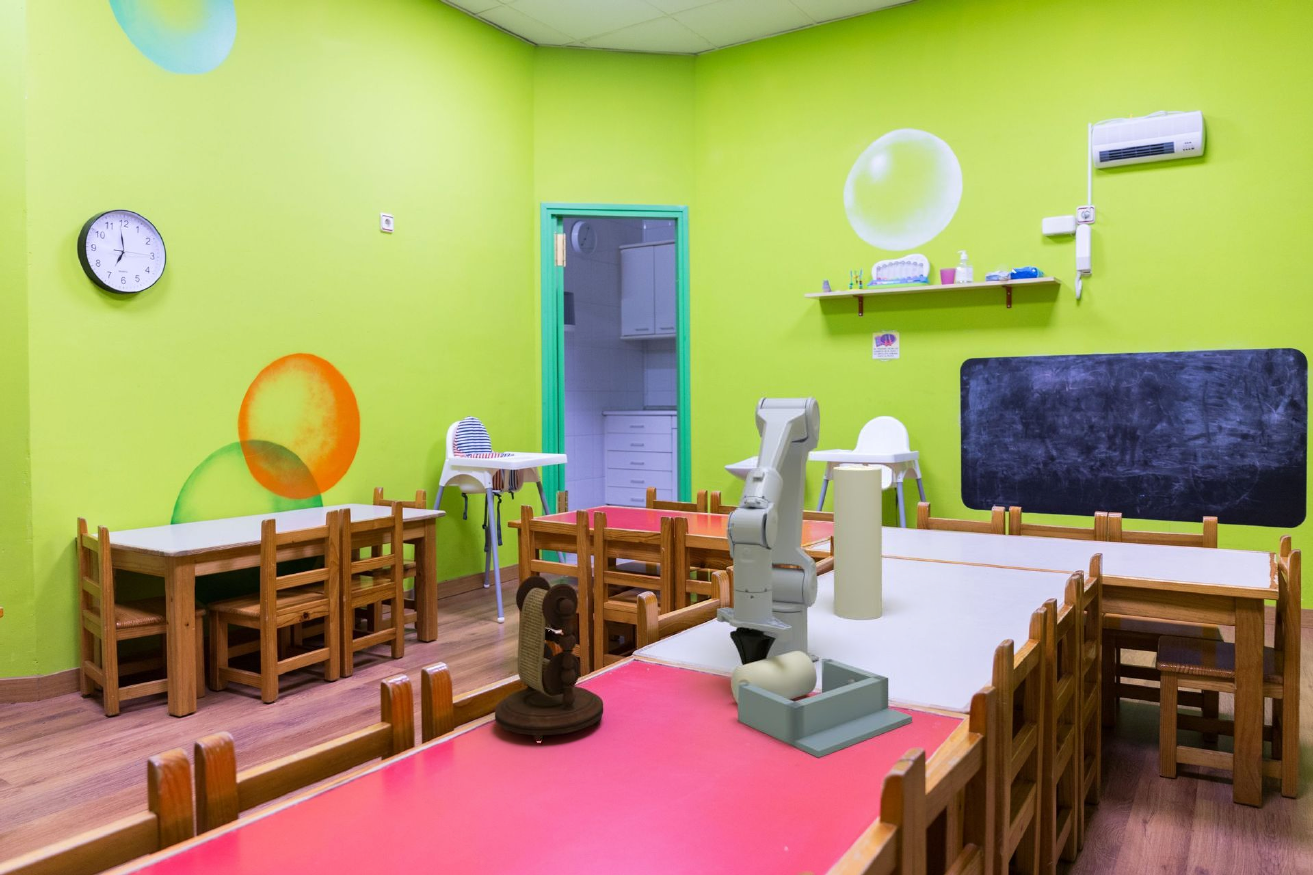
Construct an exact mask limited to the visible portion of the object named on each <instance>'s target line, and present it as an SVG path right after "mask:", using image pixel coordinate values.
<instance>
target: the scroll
mask: <svg viewBox="0 0 1313 875" xmlns="http://www.w3.org/2000/svg"><path fill="white" fill-rule="evenodd" d="M515 602H516V606H517V608H518V610H519V612H520V613H521V614H520V619H519V620H520V621H519V627H518V629H519V630H518V640H517V641H518V643H517V645H518V646H517V647H518V648H517V674H518V677H519V680H520V681H521V682H522V683H523V684H525V685H526V687H525V688H523V689H520V690H518V691H515V692H512V693H511V694H509V695H508V696H507V697H505V698H503V699H502V700H500V701H499V702H498V703H497V704H496V705H495V707H494V720H495V722H496V723H497V725H498V726H499V727H501V728H502V729H504V730H506V731H510V732H512V733H516V734H521V735H529V736H533V737H534V741H535V740H536V741H541V740H542V741H543V738H544V736H551V735H552V736H553V735H561V734H565V733H571V732H576V731H579V730H582V729H585V728H588V727H589V726H591V725H593V724H595V725H596V726H599V725H600V724H601V722H602V718H603V714H604V702H603V699H602V698H601V697H600V696H599V695H598V694H596V693H594V692H592V691H590V690H589V689H586V688H584V687H580V686H576V684H577V682H578V681H579V676H580V673H581V664H580V661H579V659H578V656H576V655H575V654H574V653H573V652H574V649H575V647H576V644H577V641H576V636H574V635H573V630H574V627H573V623H572V621H571V620H572V619H573V618H574V617H575V615H576V612H577V610H578V606H579V598H578V594H577V591H576V590H575V588H574V587H573V586H571V585H570V584H567V583H556V584H555V585H553V586H551V585H550V583H549V582H548V580H547V579H546V578H544V577H543V576H540V575H532V576H529V577H527V578H525V579H524V580H523V581H522V582H521V583H520V585H519V586H518V588H517V591H516V595H515ZM548 630H550V631H549V632H548ZM555 631H561V633H557V632H555ZM547 642H550V643H551V642H552V643H555V644H556V645H558V646H559V647H560V649H561V652H558V653H557V654H554V652H553V649H552V647H550V645H549V644H548V643H547ZM536 741H535V742H536Z"/></svg>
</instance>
